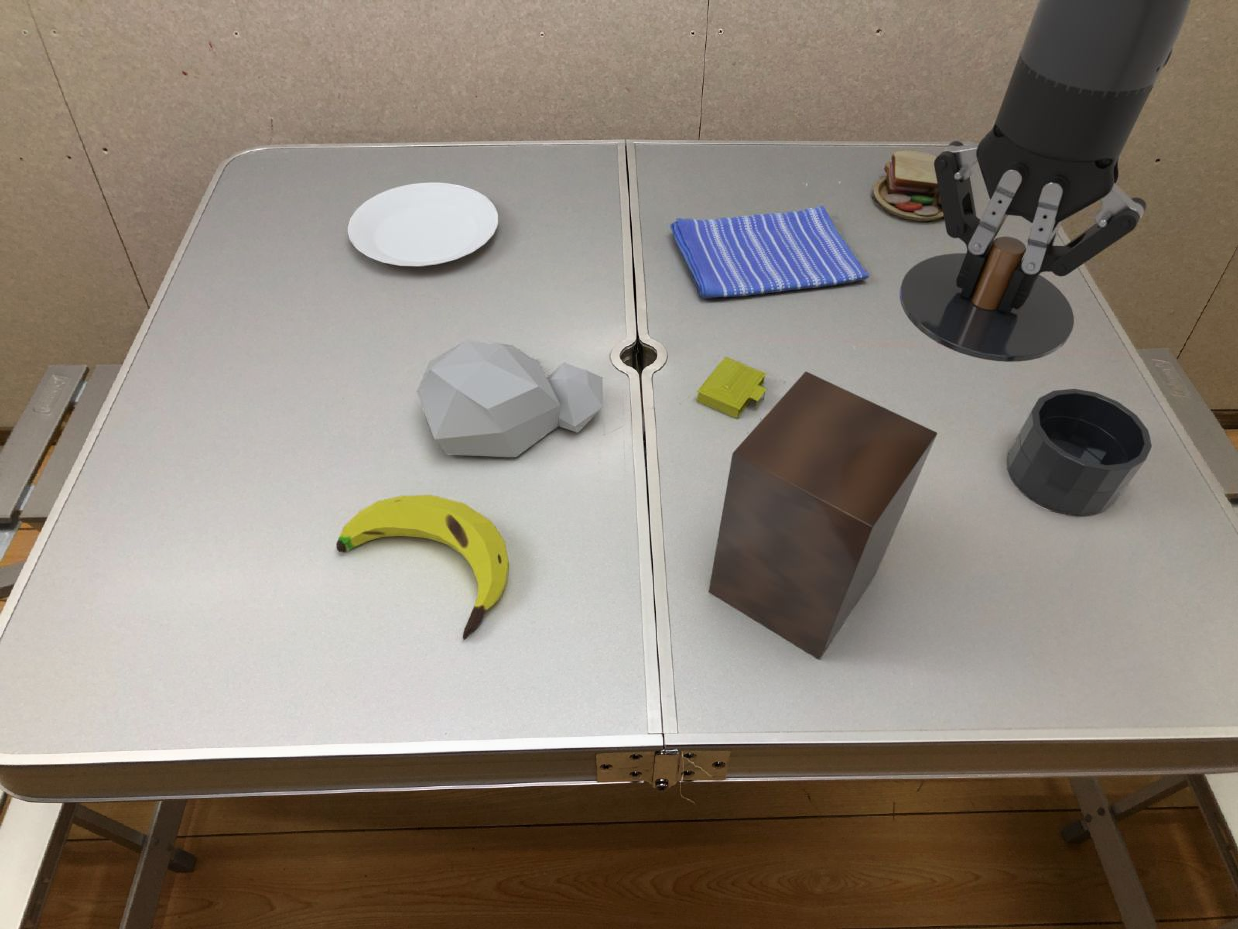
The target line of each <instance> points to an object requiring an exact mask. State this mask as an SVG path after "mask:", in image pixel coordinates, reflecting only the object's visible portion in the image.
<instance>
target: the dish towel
mask: <svg viewBox="0 0 1238 929" xmlns="http://www.w3.org/2000/svg"><path fill="white" fill-rule="evenodd" d="M670 229H671V232H672V235H673V237H674V239H675V242H676V245H677V246H678V248H679V250H680V252H681V254H682V257H683V259H684V262H685V263H686V265H687V268H688V270H689V272H690V274H691V277H692V280H693V281H694V283H695V286H696V289H697V291H698V294H699V296H700V297H701V298H703V299H705V300H706V299H714V298H727V297H730V298H731V297H746V296H753V295H754V296H755V295H763V294H767V293H779V292H786V291H795V290H802V289H815V288H816V289H817V288H820V287H828V286H837V285H843V284H850V283H855V282H858V281H862V280H866V279H869V278H870V275H869V273H868V272H867V271H866V270H865V269H864V267H863V265H862V264H861V262H860V261H859V260H858V258H857V257H856V255H855V254H854V253H853V252H852V250H851V248H850V247H849V245H848V244H847V242H846V241H845V239H844V238H843V237H842V235H841V234H840V233H839V231H838V229H837V228H836V226H835V224H834V222H833V220H832V219H831V217H830V215H829V213H828V212H827V209H826V207H825V206H824V205H819V206H814V207H807V208H804V209H801V210H797V211H796V210H793V211H788V212H773V213H765V214H751V215H739V216H734V217H728V216H726V217H721V218H707V219H696V218H680V217H677V218H676V219H675V221H673V222H671V223H670Z"/></svg>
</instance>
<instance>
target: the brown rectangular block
mask: <svg viewBox="0 0 1238 929" xmlns="http://www.w3.org/2000/svg"><path fill="white" fill-rule="evenodd" d="M937 436H938V432H936V431H935V430H933V429H930V428H928V427H926V426H924V425H921V423H918V422H916V421H913V420H911V419H909V418H907V417H905V416H902V415H901V414H899V413H897V412H893V411H892V410H889V409H887V408H885V407H883V406H881V405H879V404H878V403H875V402H873V401H870V400H868V399H866V398H864V397H862V396H860V395H857V394H856V393H853V392H851V391H849V390H847V389H844V388H842V387H841V386H838V385H836V384H834V383H832V382H830V381H828V380H825V379H823V378H821V377H819V376H817V375H815V374H813V373H810V372H808V371H804V372H803V374H802V375H801V376H800V377H799V378H798V379H797V380H796V381H795V382H794V384H793V385H792V386H790V388H789V389H788V391H786V393H784V395H783V396H782V397H781V398H780V399H779V400H778V401H777V403H776V404H775V405H774V406H773V407H772V408H771V409H770V410H769V412H768V413H767V414H766V415H765V416H764V417H763V419H761V420H760V422H759V423H758V424H757V425H756V426H755V427H754V429H753V430H752V431H750V433H748V435H747V436H746V437H745V439H744V440H743V441H742V442H741V443H740V444H739V445H738V446H737V447H736V448H735V449H734V451H733V452H732V453H731V454H732V455H731V459H730V466H729V471H728V477H727V483H726V489H725V494H724V500H723V507H722V512H721V518H720V524H719V530H718V535H717V541H716V546H715V553H714V558H713V564H712V570H711V575H710V580H709V581H710V582H709V588H708V593H709V594H711V595H713V596H714V597H716V598H718V599H719V600H721V601H722V602H724V603H726V604H728V605H729V606H731V607H732V608H734V609H735V610H737V611H739V612H740V613H742V614H744V615H745V616H747V617H748V618H750V619H752V620H753V621H755V622H757V623H758V624H759V625H762V626H763V627H764V628H766V629H768V630H770V631H772V632H773V633H775V634H776V635H778V636H780V637H781V638H783V639H785V640H786V641H788V642H789V643H790V644H792V645H794V646H796V647H797V648H799V649H800V650H802V651H804V652H806V653H807V654H809V655H810V656H812V657H814V659H815V658H816V659H817V660H821V659H822V657H823V656H824V654H825V653H826V652H827V650H828V649H829V647H830V645H831V643H832V642H833V640H834V639H835V638H836V636H837V635H838V633H839V632H840V629H841V628H842V627H843V625H844V624H845V622H846V621H847V619H848V617H849V616H850V615H851V613H852V611H853V610H854V608H855V607H856V605H858V604H857V603H858V602H859V601H860V600H861V598H862V596H863V595H864V593H865V592H866V590H867V588H868V587H869V585H870V584H871V582H872V581H873V580H874V578H875V576H876V574H877V572H878V571H879V569H880V566H881V564H882V561H883V560H884V557H885V555H886V553H887V550H888V548H889V545H890V543H891V542H892V539H893V537H894V534H895V532H896V530H897V527H898V525H899V523H900V520H901V519H902V516H903V513H904V511H905V509H906V507H907V504H908V503H909V500H910V497H911V495H912V493H913V491H914V488H915V487H916V484H917V482H918V479H919V477H920V475H921V472H922V470H923V468H924V465H925V463H926V461H927V459H928V456H929V454H930V451H931V449H932V447H933V445H934V442H935V440H936V438H937Z"/></svg>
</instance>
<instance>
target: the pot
mask: <svg viewBox="0 0 1238 929" xmlns="http://www.w3.org/2000/svg"><path fill="white" fill-rule="evenodd" d="M1152 447H1153V445H1152V441H1151V436H1150V431H1149V429H1148V428H1147V427H1146V426H1145V424H1144V423H1143V421H1142V420H1141V419H1140V418H1139V416H1138V415H1137V414H1136V413H1134V412H1133V411H1132V410H1131V409H1129V408H1127V407H1126V406H1125V405H1123V403H1121V402H1119V401H1118V400H1115V399H1113V398H1110V397H1108V396H1106V395H1103V394H1101V393H1098V392H1096V391H1091V390H1085V389H1079V388H1068V389H1057V390H1052V391H1050V392H1048V393H1045V394H1044V395H1042V396H1040V397H1039V398H1038V399H1037V401H1036V402H1035V404H1034V406H1033V408H1032V409H1031V410H1030V413H1029V414H1028V416H1027V418H1026V420H1025V422H1024V424H1023V426H1022V427H1021V430H1020V431H1019V433H1018V435H1017V437H1016V439H1015V440H1014V442H1013V444H1012V445H1011V448H1010V449H1009V451H1008V453H1007V458H1006V466H1007V471H1008V475H1009V476H1010V478H1011V480H1012V482H1013V483H1014V485H1015V486H1016V487H1017V488H1018V489H1019V491H1020V492H1021V493H1022V494H1024V496H1026V497H1027V498H1028V499H1030V500H1031V501H1033V502H1034V503H1036V504H1037V505H1039V506H1041V507H1043V508H1045V509H1047V510H1050V511H1053V512H1056V513H1057V514H1062V515H1067V516H1073V517H1086V516H1087V517H1088V516H1093V515H1097V514H1101V513H1103V512H1105V511H1106V510H1108V509H1109V508H1110V507H1111V506H1113V505H1114V504H1115V503H1116V501H1117V500H1118V499H1119V498H1120V496H1121V495H1122V493H1124V490H1125V489H1126V488H1127V487H1128V485H1129V484H1130V483H1131V481H1132V480H1133V479H1134V477H1135V476H1136V474H1138V472H1139V470H1140V469H1141V468H1142V466H1143V465H1144V463H1145V462H1146V461H1147V459H1148V457H1149V454H1150V452H1151V449H1152Z"/></svg>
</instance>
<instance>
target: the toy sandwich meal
mask: <svg viewBox="0 0 1238 929" xmlns="http://www.w3.org/2000/svg"><path fill="white" fill-rule="evenodd" d="M938 156H939V155H935V154H932V153H928V152H924V151H919V150H906V149H905V150H896V151H894V152H893V153H892V155H891V158H890V160H891V161H888V162H887V163H885V165H884V168H883V171H884V172H885V176H883V177H881V178H879V179H878V180H877V181H876V182H875V184H874V185H873V195H874V197H875V200H876V201H877V202H878V204H879V205H880V206H881V208H883V209H884V210H885V211H887V212H888V213H889V214H892V215H894V216H896V217H898V218H901V219H905V220H909V221H915V222H917V221H918V222H928V221H936V220H939V219H942V218H944V215H943V210H942V205H941V199H940V194H939V189H938V184H937V178H936V173H935V168H934V161H935V159H936V158H937V157H938Z"/></svg>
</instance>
